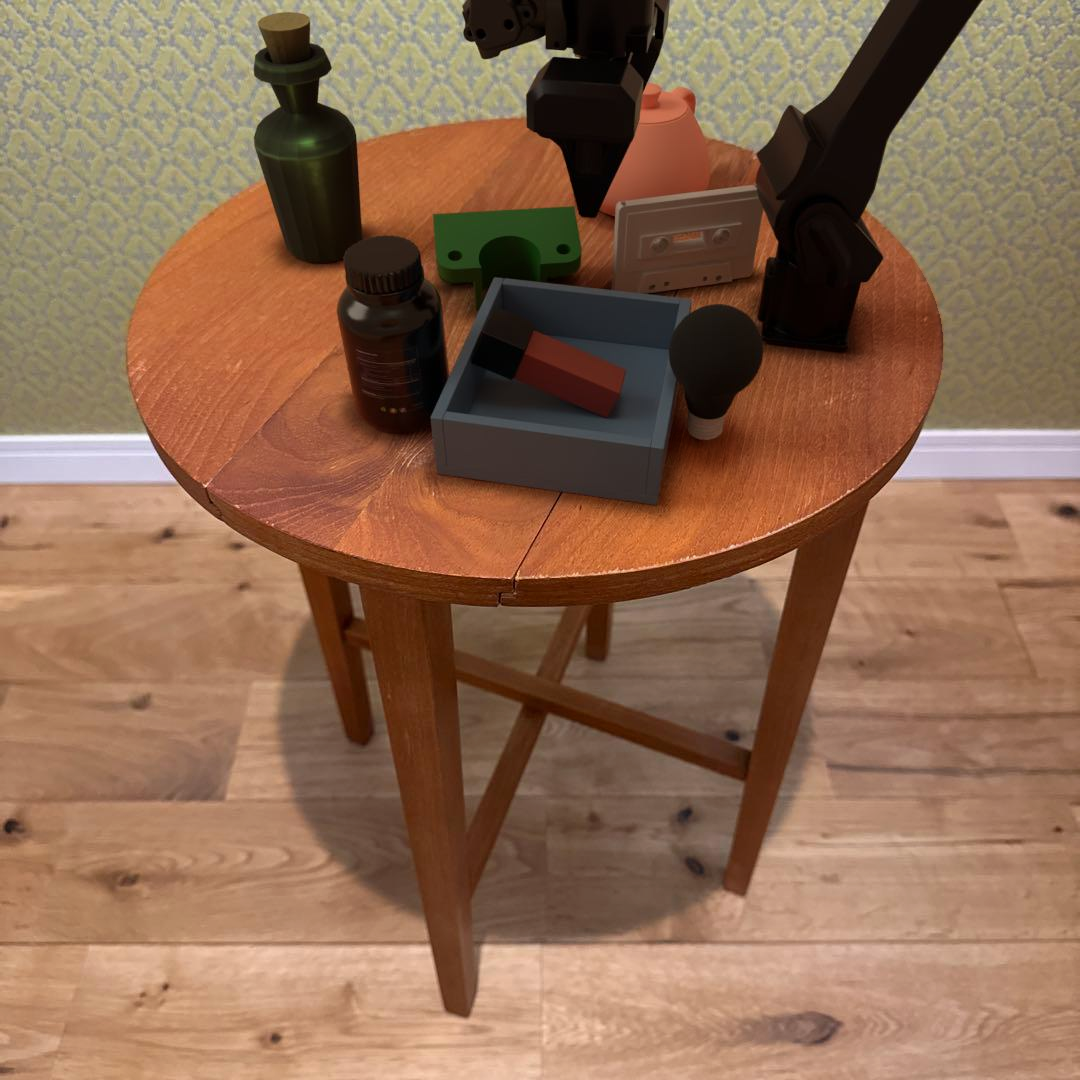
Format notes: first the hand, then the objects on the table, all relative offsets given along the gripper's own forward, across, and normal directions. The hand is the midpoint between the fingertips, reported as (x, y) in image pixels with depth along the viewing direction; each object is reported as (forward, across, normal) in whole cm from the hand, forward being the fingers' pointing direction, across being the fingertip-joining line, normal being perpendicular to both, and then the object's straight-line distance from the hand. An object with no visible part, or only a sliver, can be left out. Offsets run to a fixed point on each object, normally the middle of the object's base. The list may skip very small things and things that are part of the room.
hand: (599, 183), depth 66 cm
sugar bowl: (+12, -22, +1) cm, 25 cm away
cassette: (+12, -8, +6) cm, 16 cm away
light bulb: (+12, +11, +9) cm, 19 cm away
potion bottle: (+12, -8, -25) cm, 29 cm away
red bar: (+10, +10, -2) cm, 14 cm away
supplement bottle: (+12, +12, -12) cm, 20 cm away
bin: (+12, +10, 0) cm, 15 cm away
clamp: (+12, -4, -8) cm, 15 cm away
